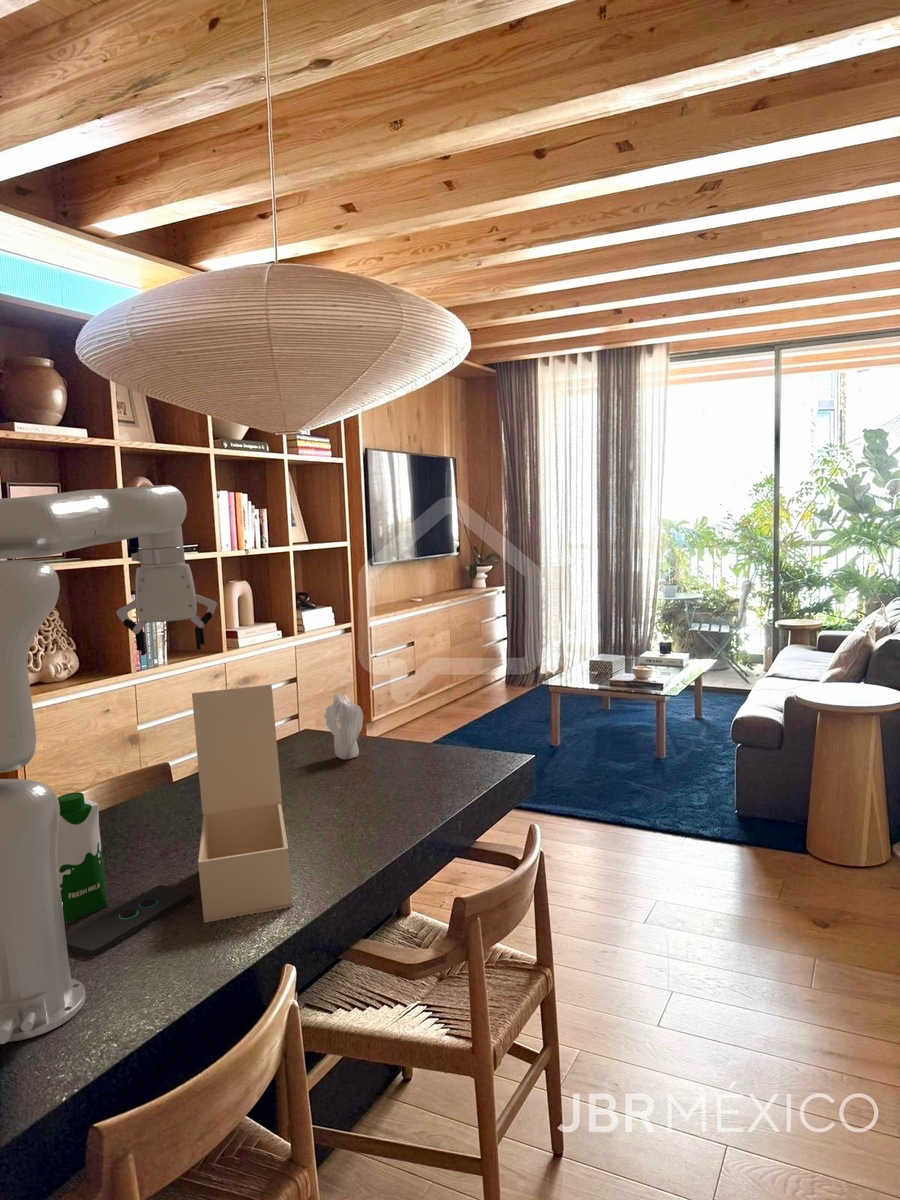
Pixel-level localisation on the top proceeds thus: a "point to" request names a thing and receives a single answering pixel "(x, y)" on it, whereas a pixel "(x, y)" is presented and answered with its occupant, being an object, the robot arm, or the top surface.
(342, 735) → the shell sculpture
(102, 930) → the smart home device
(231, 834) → the carton
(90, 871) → the milk carton
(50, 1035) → the top surface
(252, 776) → the lid flap
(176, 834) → the top surface
